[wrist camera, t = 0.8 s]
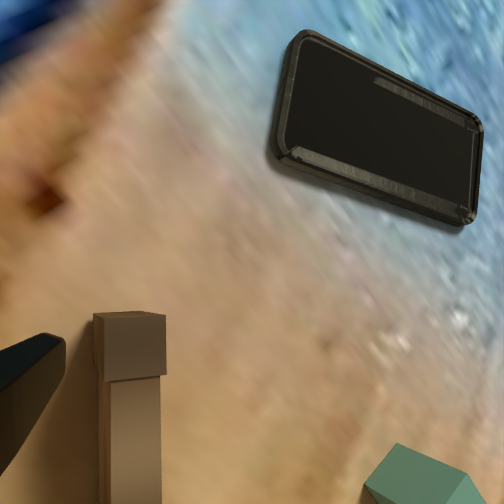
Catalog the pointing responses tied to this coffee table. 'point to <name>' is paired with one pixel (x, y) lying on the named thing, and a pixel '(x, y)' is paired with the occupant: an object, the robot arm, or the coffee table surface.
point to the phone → (376, 131)
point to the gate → (129, 405)
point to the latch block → (420, 481)
